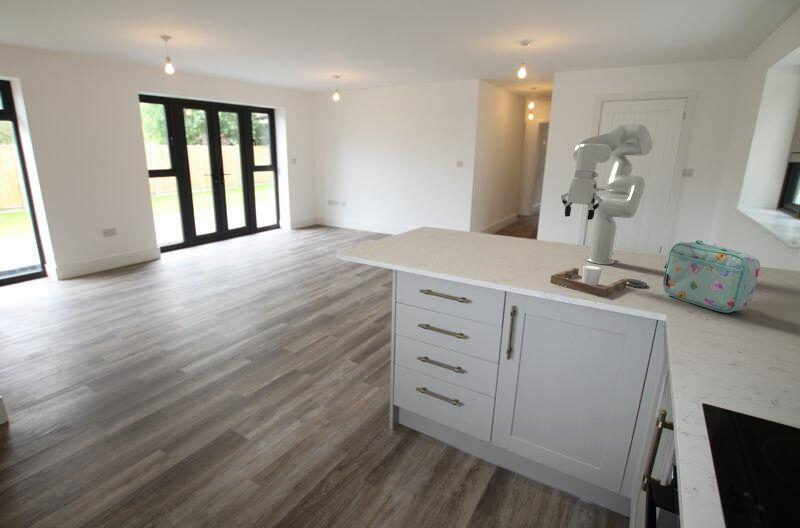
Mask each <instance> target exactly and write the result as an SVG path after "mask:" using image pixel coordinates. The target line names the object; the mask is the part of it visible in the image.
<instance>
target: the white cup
mask: <svg viewBox="0 0 800 528" xmlns="http://www.w3.org/2000/svg"><path fill="white" fill-rule="evenodd" d="M602 269H603V268H602V267H600V266H597V265H591V264H589V265H588V264H586V265H585V264H584V265H583V266H582V281H581V282H582V283H586V284H590V285H594V286H596V285H598V286H599V282H600V277H601V273H602Z"/></svg>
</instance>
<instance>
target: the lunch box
mask: <svg viewBox="0 0 800 528" xmlns="http://www.w3.org/2000/svg"><path fill="white" fill-rule="evenodd" d="M668 255H669V256H668V260H667V262H666V263H665V265H664V267H663V268H664V269H665V270H664V274H663V275H664V276H663V281H662V283H663V285H662V286H663V289H664V292H665V293H666V294H667V295H669V296H671V297H672V298H675V299H678V300H680V301H684V302H686V303H689V304H693V305H695V306H699V307H702V308H706V309H708V310H712V311H716V312H721V313H732V312H744V311H747V310H748V309H749V308H750V306H751V303H752V301H753V298H754V293H755V289H756V286H757V281H758V279H759V274H760V270H761V264H760V261H759V258H757V257H756V256H754V255H751V254H748V253H746V252H742V251H738V250H735V249H734V250H733V249H729V248H726V247H721V246H716V245H713V244H707V243H704V242H703V240H700V239H699V240H695V241H694V242H693V241H690V242H683V241H682V242H678V243H676V244H674V245H673V246H672V247H671V249H670V252H669V254H668Z"/></svg>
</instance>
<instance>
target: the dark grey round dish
mask: <svg viewBox="0 0 800 528" xmlns="http://www.w3.org/2000/svg"><path fill="white" fill-rule="evenodd" d="M625 279H626V280H627V284H626V287H627V288H628V287H629V288H634V289H635V288H636V289H646V288H647V287H648V283H647V282H645V281H644V280H640V279H635V278H625Z"/></svg>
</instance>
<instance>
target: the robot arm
mask: <svg viewBox="0 0 800 528" xmlns="http://www.w3.org/2000/svg"><path fill="white" fill-rule="evenodd" d="M653 146H654V145H653V138H652V137H651V134H650V132H649V130H648V128H647V127H646V126H645V125H644V124H643V123H624V124H622V123H621V124H617V125H615V126H613V127H612V128H611V129H609V130H607V131H606V132H605V133H601V134H597V135H595V136H592V137H588V138H585V139H583V140H582V141H580V142H579V143H577V145H576V146H574V149H573V152H572V157H573V159H574V161H575V163H576V164H575V170H574V177H573V178H572V180H571V183H570V186H569V189H568V192H566V193H564V194H562V195H561V196H560V199H561V202H562V204H563V205H564V207H565V208H564V217H570V216H571V213H572V205H573V204H579V205H587V206H588V208H589V209H588V212H587V220H588V221H590V220H591V221H592V220H593V219H594V222H593V223H594V224H593V228H592V236H591V243H590V250H589V255H587V256H585V260H586V262H588V263H592V264H597V265H614V264H615V260H614V259H613V258H612V256H614V252H613V249H614V245H615V243H614V242H615V237H616V231H617V223H616V221H615V219H614V217H615V218H620V219H632V218H634V216H635V215H636V213H637V211H638V208H639V205H640V203H641V199H642V198H643V195H644V191H645V187H646V186H645V185H646V182H645V179H644V178H643V177H642V176H640V175H631V173H632V171H633V165H632V162H631V161H630V160H629V159H628V157H627V156H639V157H640V156H646V155H649V154H650V153H651V151H652V149H653ZM610 159H611V163H612V166H611V170H610V172H609V175H608V178H607V180H606V184H605V188H604V190H605V192H606V194H607V195H605V194H603V195H600V196H599V195H598V182H597V181H598V180H597V179H596V178H597V177H599V173H597V164H604V163H606V162H608V161H609V160H610Z"/></svg>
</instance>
